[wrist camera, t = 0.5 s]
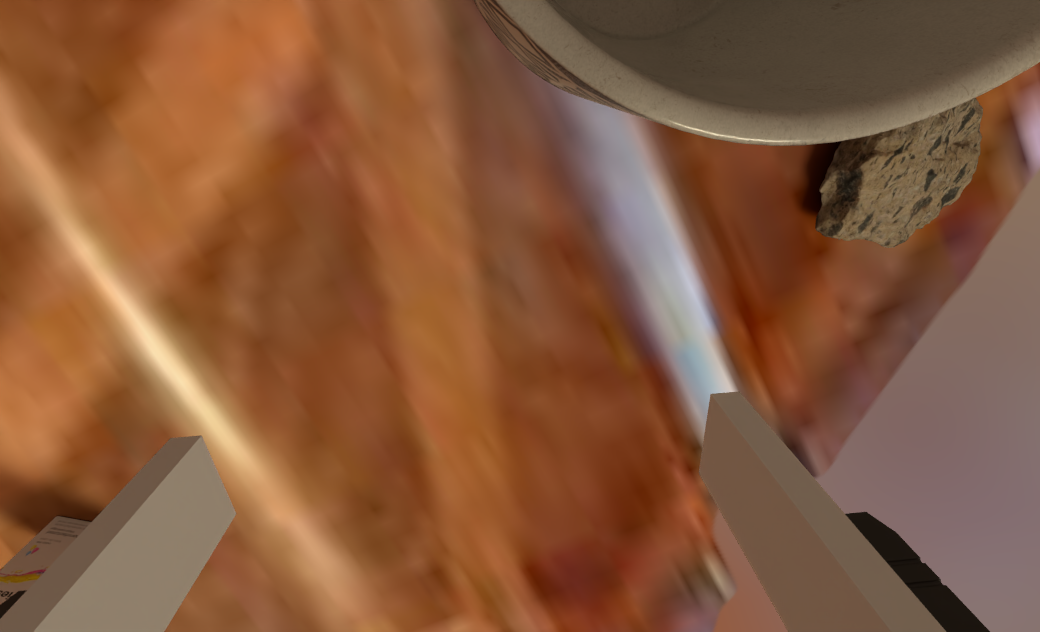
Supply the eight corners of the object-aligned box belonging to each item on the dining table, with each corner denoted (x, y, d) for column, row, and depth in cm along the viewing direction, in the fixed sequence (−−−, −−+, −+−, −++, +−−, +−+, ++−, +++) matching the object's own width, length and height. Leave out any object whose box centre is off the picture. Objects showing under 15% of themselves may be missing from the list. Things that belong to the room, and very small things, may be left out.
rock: (916, 238, 40) (962, 254, 36) (790, 229, 39) (824, 244, 35) (981, 99, 35) (1042, 100, 31) (840, 85, 34) (885, 83, 30)
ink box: (147, 530, 48) (50, 650, 38) (145, 560, 50) (53, 683, 40) (55, 513, 47) (-73, 634, 36) (57, 545, 49) (-65, 670, 38)
